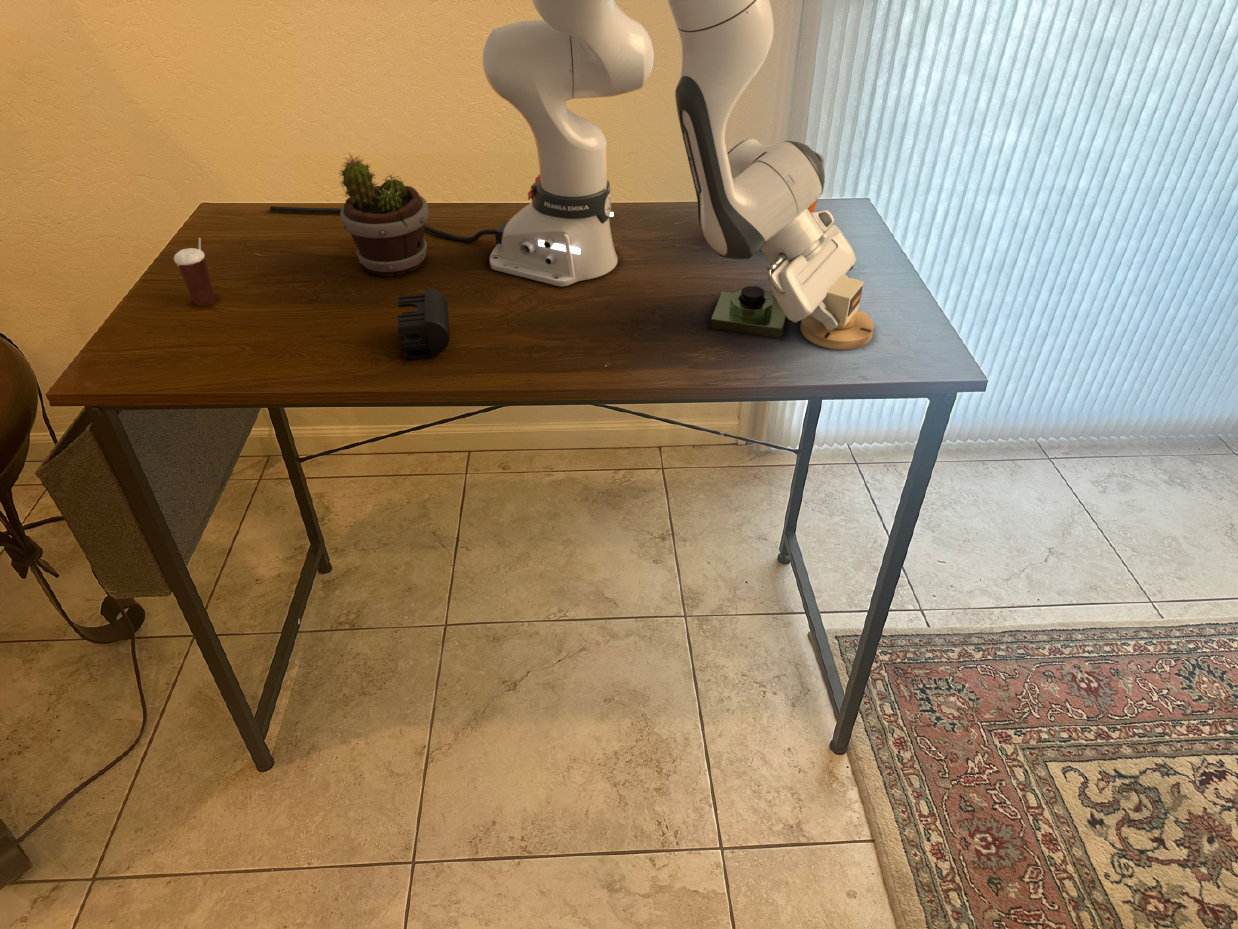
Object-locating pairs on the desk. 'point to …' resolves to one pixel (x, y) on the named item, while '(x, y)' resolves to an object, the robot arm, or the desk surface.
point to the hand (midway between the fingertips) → (843, 315)
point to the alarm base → (748, 315)
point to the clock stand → (839, 333)
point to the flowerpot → (383, 221)
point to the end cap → (424, 324)
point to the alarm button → (752, 296)
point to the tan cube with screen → (844, 300)
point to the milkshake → (195, 275)
